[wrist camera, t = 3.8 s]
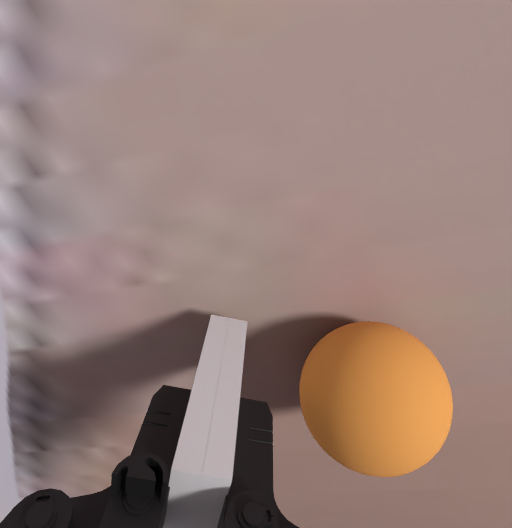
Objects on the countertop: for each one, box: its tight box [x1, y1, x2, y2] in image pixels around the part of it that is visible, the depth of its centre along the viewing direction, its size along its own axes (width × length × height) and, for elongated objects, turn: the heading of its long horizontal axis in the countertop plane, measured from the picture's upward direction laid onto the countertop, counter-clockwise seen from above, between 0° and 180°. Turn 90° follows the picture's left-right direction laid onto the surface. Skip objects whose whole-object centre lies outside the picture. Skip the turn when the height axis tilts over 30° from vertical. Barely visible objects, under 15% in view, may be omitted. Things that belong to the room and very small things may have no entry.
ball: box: [299, 321, 453, 477], centre depth 14 cm, size 6×6×6 cm
